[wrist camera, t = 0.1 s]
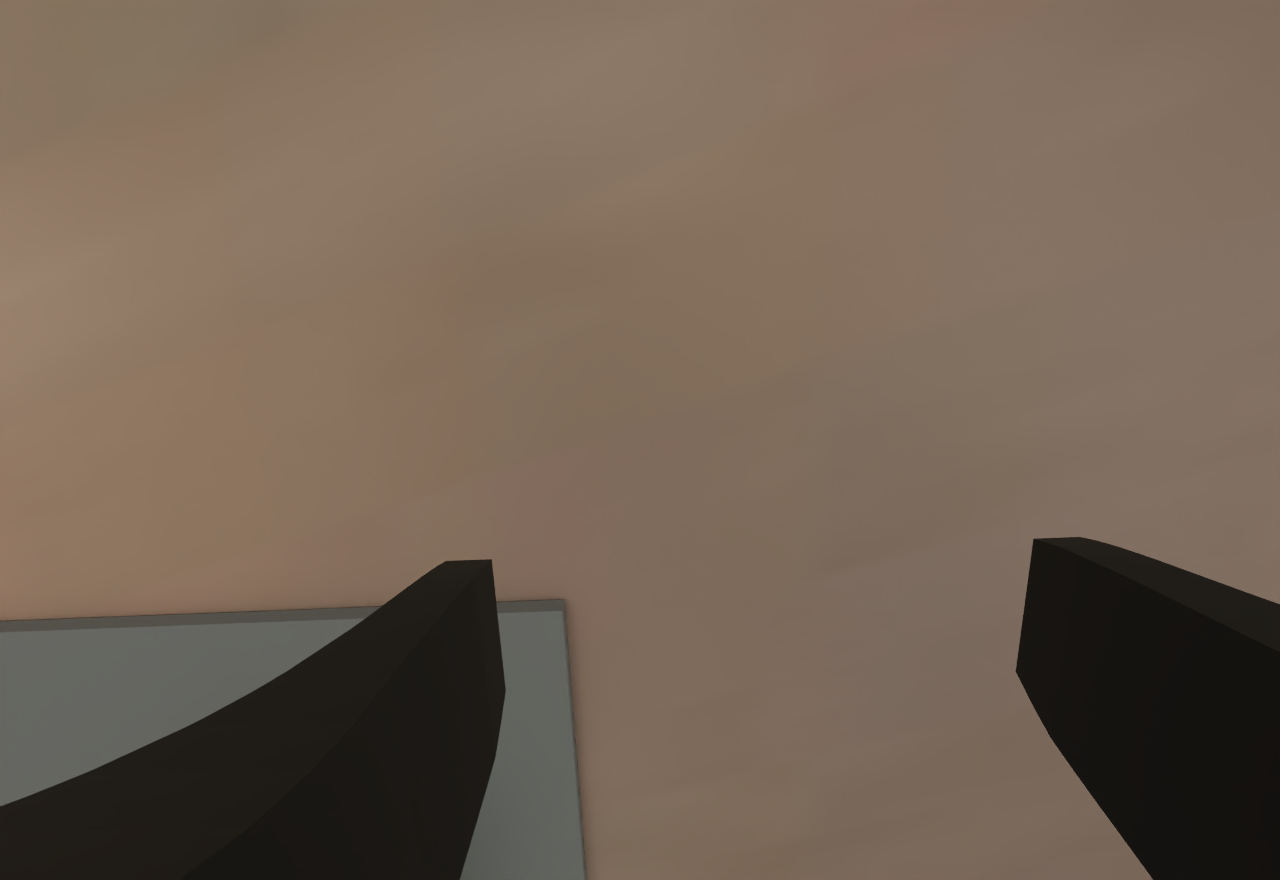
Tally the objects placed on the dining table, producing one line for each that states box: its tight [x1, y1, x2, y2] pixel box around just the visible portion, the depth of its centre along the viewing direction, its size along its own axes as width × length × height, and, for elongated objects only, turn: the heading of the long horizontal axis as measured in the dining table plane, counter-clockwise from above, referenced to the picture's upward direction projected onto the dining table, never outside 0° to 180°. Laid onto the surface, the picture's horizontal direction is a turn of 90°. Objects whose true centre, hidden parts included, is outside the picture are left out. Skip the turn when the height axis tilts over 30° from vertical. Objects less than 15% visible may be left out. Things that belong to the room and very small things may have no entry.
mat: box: [0, 600, 587, 880], centre depth 24 cm, size 16×18×1 cm
